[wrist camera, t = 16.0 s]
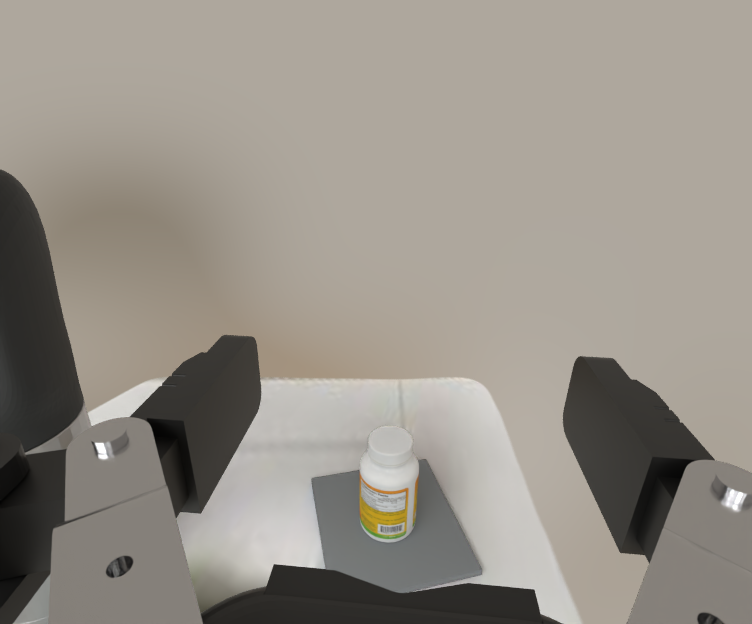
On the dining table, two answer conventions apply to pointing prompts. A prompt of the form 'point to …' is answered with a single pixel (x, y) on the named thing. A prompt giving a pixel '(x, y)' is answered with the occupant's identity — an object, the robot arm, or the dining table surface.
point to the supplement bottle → (388, 485)
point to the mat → (396, 559)
